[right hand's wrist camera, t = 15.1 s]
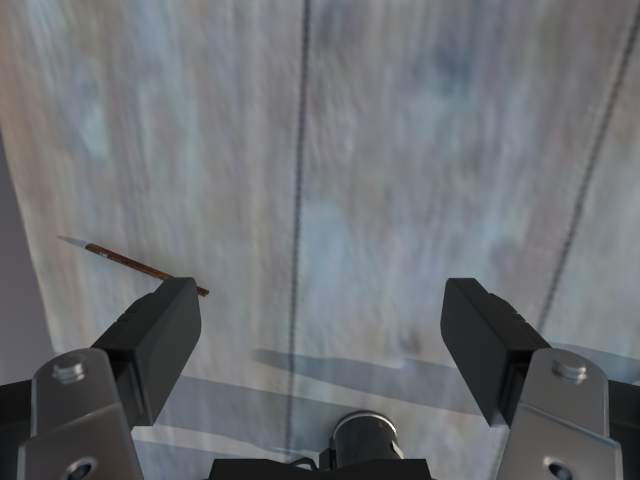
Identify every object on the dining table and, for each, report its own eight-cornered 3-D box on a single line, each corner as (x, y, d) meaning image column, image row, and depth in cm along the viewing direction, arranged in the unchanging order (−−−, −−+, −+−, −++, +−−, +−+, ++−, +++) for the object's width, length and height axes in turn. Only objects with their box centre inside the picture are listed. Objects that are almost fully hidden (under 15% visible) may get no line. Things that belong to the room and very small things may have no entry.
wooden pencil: (209, 290, 44) (207, 294, 43) (208, 293, 44) (205, 297, 43) (90, 242, 42) (85, 245, 41) (89, 245, 42) (84, 249, 41)
